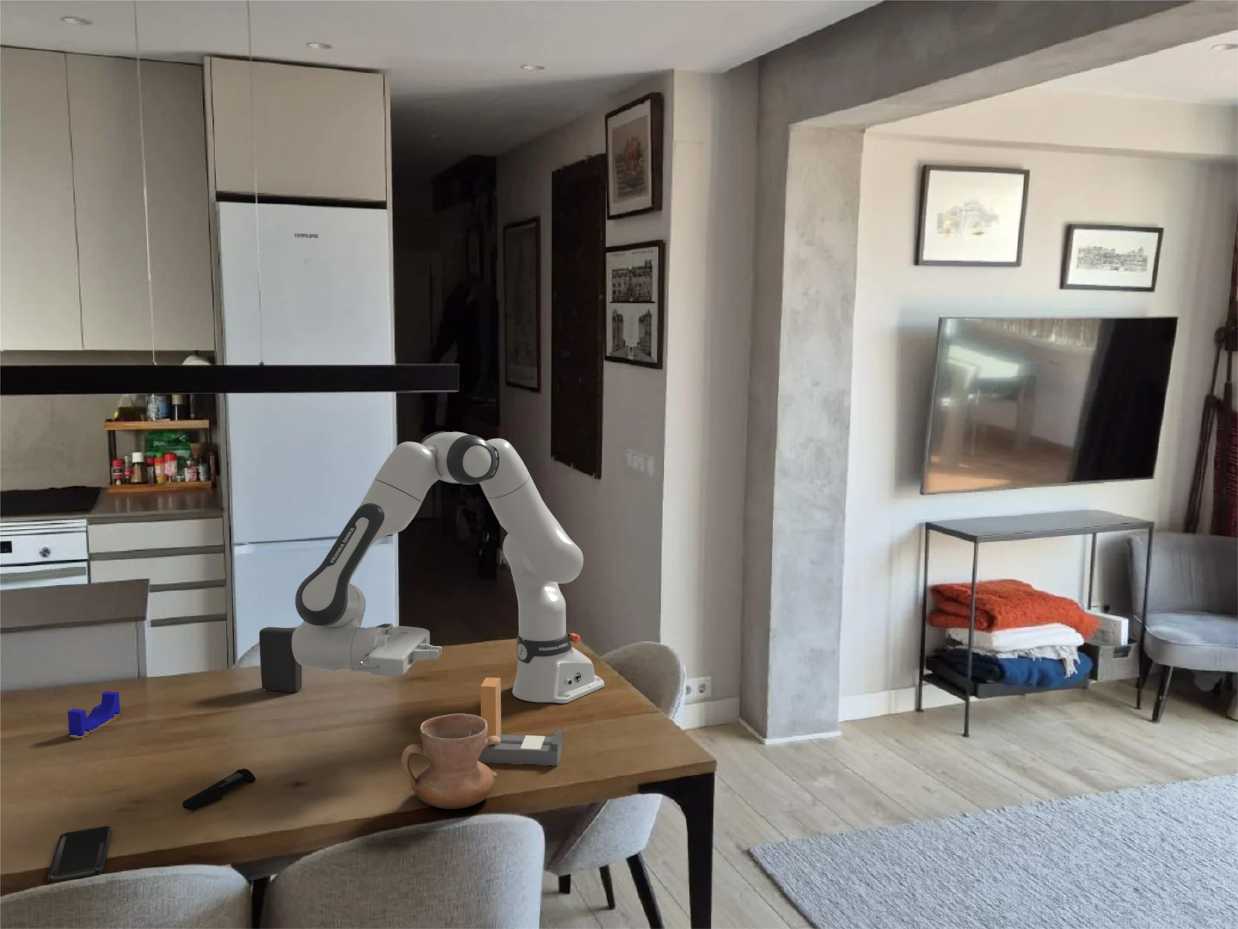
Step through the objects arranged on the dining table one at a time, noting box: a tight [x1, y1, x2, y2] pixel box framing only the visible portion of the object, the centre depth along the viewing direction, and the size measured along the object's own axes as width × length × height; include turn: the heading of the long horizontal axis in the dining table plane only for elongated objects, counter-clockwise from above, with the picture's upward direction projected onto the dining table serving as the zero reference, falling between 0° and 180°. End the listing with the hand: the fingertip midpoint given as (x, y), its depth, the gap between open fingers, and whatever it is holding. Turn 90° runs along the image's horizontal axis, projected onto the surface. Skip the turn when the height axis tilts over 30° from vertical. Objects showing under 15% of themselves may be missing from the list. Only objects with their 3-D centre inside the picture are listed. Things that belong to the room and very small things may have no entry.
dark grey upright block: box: [258, 626, 303, 693], centre depth 238 cm, size 9×4×15 cm, turn 82°
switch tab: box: [480, 677, 502, 738], centre depth 203 cm, size 3×5×12 cm, turn 175°
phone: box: [47, 825, 112, 883], centre depth 165 cm, size 8×1×15 cm
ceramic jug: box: [400, 713, 501, 810], centre depth 184 cm, size 18×14×14 cm
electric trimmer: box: [181, 768, 257, 812], centre depth 185 cm, size 4×16×3 cm, turn 155°
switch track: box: [471, 729, 563, 767], centre depth 203 cm, size 20×7×4 cm, turn 85°
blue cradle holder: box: [67, 690, 121, 736], centre depth 216 cm, size 12×4×6 cm, turn 169°
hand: (440, 653), depth 202 cm, fingers closed
